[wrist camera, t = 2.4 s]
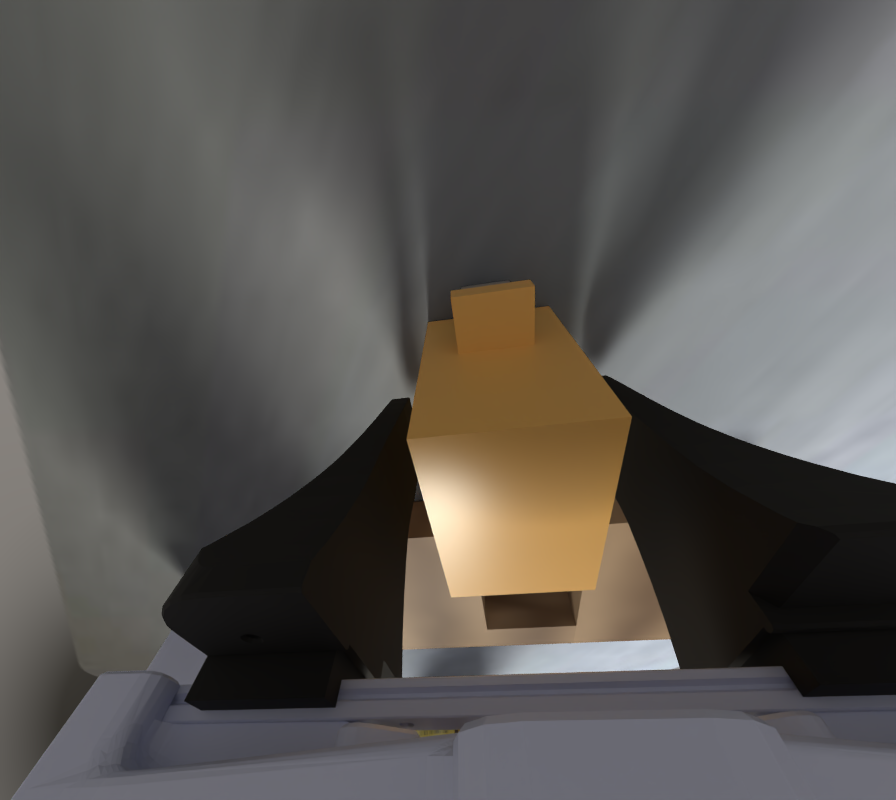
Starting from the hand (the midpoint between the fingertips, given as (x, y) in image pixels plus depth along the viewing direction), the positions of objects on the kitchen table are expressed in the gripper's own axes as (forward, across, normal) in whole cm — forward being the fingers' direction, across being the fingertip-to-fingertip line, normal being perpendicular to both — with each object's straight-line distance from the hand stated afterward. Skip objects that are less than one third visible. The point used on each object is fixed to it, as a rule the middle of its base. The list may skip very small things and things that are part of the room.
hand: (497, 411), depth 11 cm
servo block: (+1, 0, 0) cm, 1 cm away
